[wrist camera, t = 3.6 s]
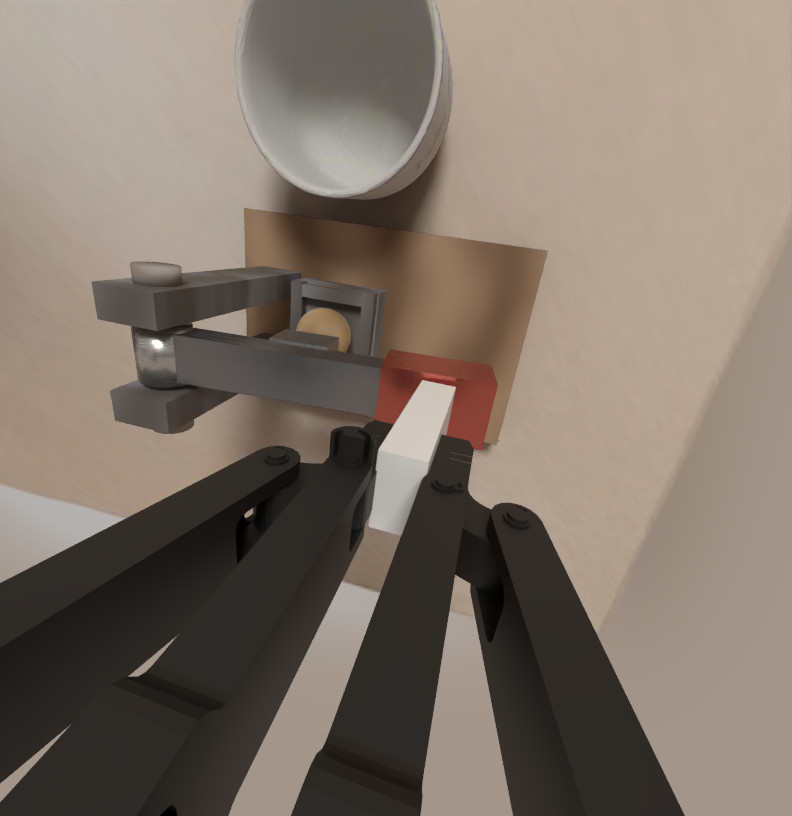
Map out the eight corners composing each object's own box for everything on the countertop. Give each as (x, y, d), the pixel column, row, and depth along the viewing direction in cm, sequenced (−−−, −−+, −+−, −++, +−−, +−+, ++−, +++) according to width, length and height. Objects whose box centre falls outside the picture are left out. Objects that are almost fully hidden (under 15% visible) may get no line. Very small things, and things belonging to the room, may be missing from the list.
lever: (180, 361, 23) (121, 388, 19) (175, 305, 22) (111, 321, 18) (475, 410, 22) (481, 450, 18) (488, 355, 21) (497, 384, 17)
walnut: (308, 350, 29) (285, 363, 26) (310, 300, 28) (286, 307, 24) (355, 359, 29) (337, 374, 25) (360, 309, 27) (341, 317, 24)
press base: (260, 383, 36) (101, 476, 21) (259, 210, 30) (42, 178, 16) (496, 433, 33) (497, 584, 18) (544, 250, 27) (600, 256, 12)
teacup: (462, 196, 27) (450, 178, 20) (314, 219, 30) (256, 211, 22) (448, -87, 22) (426, -249, 15) (273, -28, 25) (180, -141, 17)
